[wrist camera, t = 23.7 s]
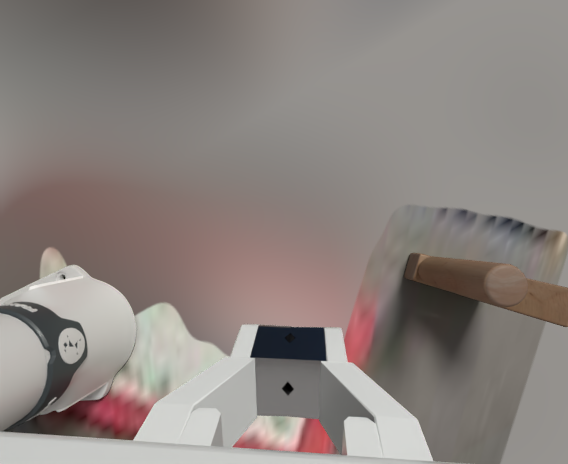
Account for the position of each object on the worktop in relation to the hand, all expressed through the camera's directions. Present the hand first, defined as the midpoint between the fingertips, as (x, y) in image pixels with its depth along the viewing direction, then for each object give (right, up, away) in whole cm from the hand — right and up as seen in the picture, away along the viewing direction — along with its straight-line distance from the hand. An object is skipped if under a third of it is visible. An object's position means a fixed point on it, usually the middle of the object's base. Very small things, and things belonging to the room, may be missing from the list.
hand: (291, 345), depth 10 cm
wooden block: (+22, -3, +34) cm, 40 cm away
